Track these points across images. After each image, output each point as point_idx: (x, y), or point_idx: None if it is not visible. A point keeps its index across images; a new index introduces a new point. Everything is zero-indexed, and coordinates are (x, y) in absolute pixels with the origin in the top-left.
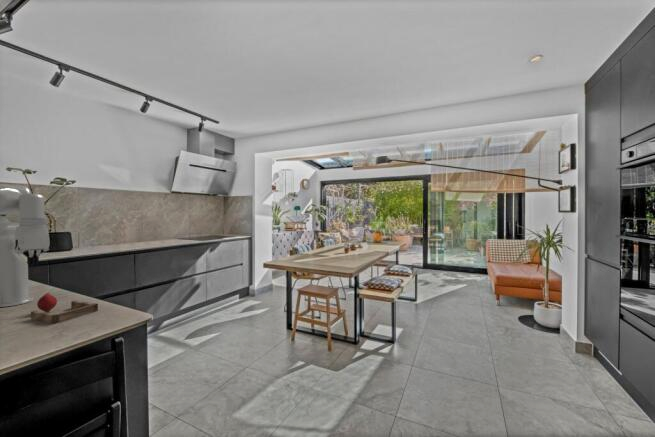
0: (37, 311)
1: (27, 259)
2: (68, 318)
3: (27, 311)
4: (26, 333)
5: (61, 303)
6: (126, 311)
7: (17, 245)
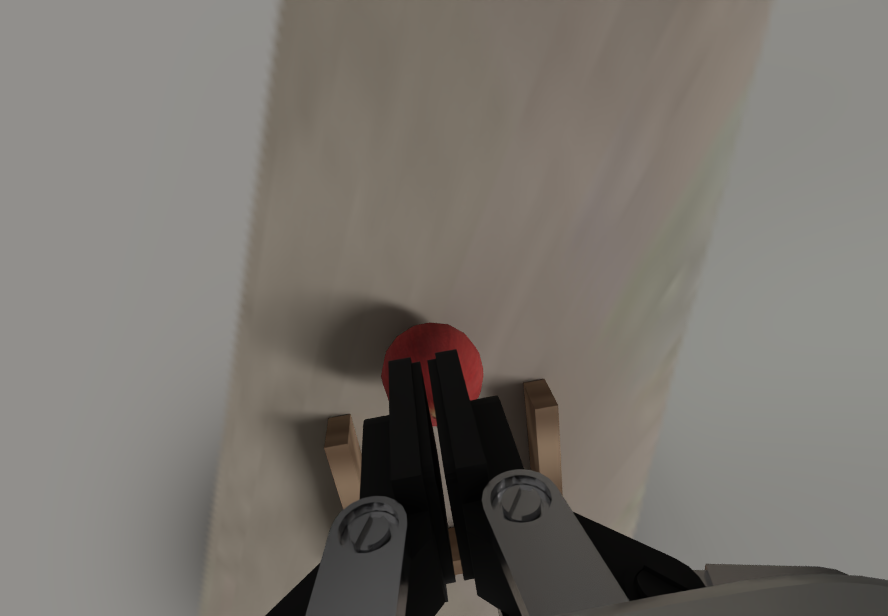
0: (346, 469)
1: (361, 490)
2: None
3: (364, 223)
4: (266, 584)
5: (560, 206)
6: None
7: None
